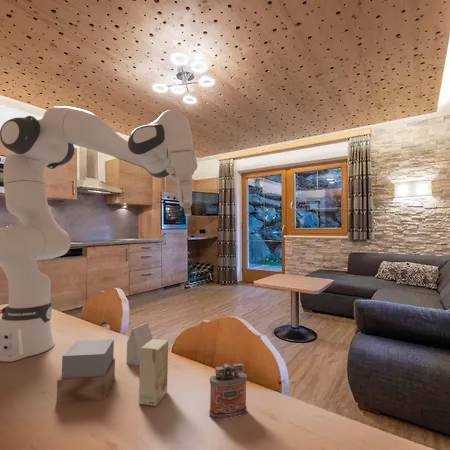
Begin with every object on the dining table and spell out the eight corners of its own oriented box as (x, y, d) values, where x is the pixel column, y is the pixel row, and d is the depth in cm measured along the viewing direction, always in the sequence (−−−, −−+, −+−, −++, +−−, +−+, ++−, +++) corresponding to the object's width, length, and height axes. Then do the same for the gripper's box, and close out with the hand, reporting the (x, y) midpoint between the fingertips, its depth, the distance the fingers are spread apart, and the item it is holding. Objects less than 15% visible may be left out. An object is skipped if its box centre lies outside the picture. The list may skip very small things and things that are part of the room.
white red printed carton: (151, 356, 86) (152, 323, 86) (136, 365, 80) (137, 330, 80) (142, 354, 88) (142, 321, 88) (126, 363, 81) (127, 328, 82)
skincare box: (156, 407, 61) (157, 350, 61) (137, 404, 62) (139, 348, 62) (168, 391, 67) (169, 339, 68) (151, 388, 68) (152, 337, 69)
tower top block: (61, 378, 63) (62, 355, 63) (76, 360, 72) (76, 340, 72) (104, 376, 64) (104, 353, 65) (113, 358, 73) (113, 339, 74)
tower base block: (56, 403, 62) (57, 380, 62) (73, 379, 72) (74, 360, 72) (104, 399, 64) (104, 377, 64) (114, 377, 74) (115, 358, 74)
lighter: (211, 421, 57) (212, 371, 57) (207, 411, 60) (208, 363, 60) (248, 415, 59) (249, 366, 59) (243, 405, 62) (244, 359, 62)
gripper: (172, 182, 88) (177, 223, 83) (166, 141, 69) (173, 192, 64) (192, 179, 89) (199, 220, 84) (192, 139, 70) (201, 189, 65)
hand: (188, 208), depth 74 cm, fingers open, 8 cm apart
